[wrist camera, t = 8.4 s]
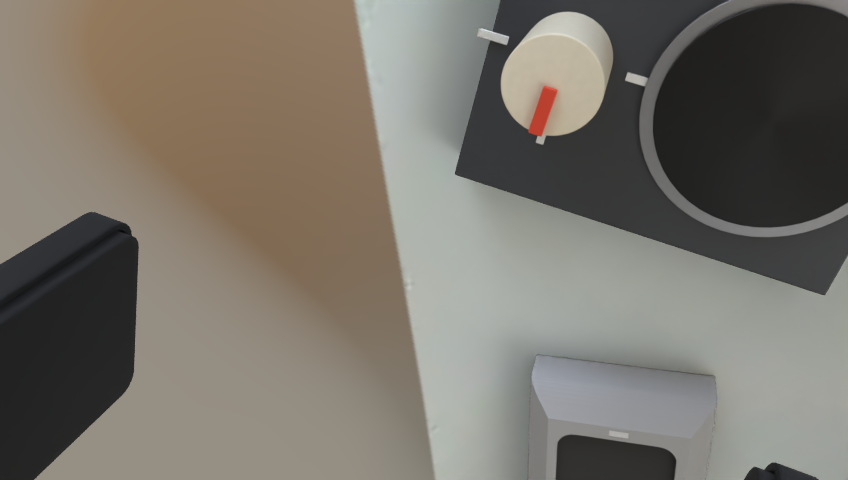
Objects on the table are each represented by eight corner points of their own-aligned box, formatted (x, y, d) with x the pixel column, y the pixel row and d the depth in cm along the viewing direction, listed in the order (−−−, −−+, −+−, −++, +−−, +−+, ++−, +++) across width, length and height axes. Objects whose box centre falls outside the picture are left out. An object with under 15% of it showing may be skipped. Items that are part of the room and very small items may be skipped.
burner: (974, 30, 29) (979, 32, 29) (839, 266, 35) (841, 272, 34) (694, -47, 31) (695, -45, 30) (605, 191, 36) (604, 196, 36)
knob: (537, -1, 33) (516, 20, 29) (627, 27, 33) (620, 54, 28) (510, 86, 35) (486, 119, 31) (594, 114, 35) (582, 152, 30)
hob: (978, -21, 31) (1003, -12, 28) (815, 271, 38) (825, 297, 35) (531, -138, 33) (521, -138, 31) (454, 154, 40) (441, 172, 38)
